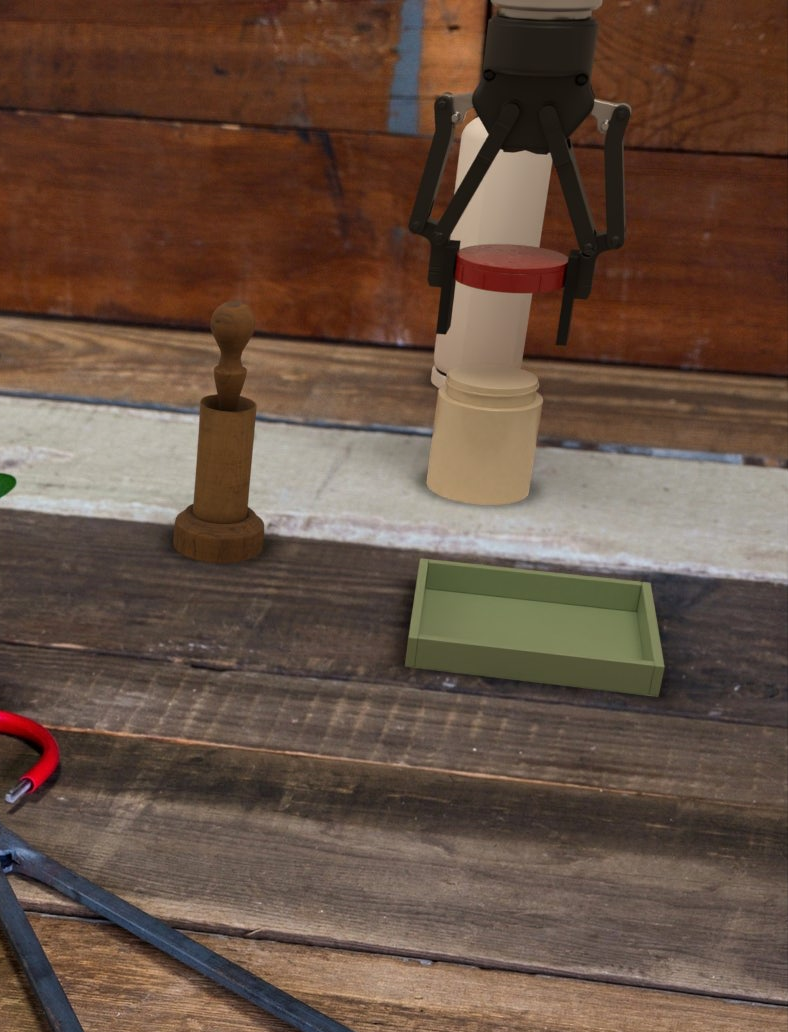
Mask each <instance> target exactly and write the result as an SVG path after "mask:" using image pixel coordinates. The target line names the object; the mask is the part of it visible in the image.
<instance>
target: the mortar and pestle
mask: <svg viewBox="0 0 788 1032" xmlns="http://www.w3.org/2000/svg"><path fill="white" fill-rule="evenodd" d="M255 330H256V317H255V314H254V312H253V310H252V309H251V307H250V306H249V305H247V304H246V303H244V302H241V301H226V302H224V303H222V304H220V305H218V307H216V308H215V310H214V312H213V313H212V316H211V319H210V331H211V333H212V336H213V339H214V341H215V342H216V344H217V346H218V348H219V351H220V358H219V362H218V364H217V365H215V366H214V368H213V378H214V383H215V384H214V385H215V389H216V393H217V394H209V395H205V396H203V397H202V398H200V401H199V416H198V417H199V418H198V433H197V435H198V436H197V451H196V463H195V464H196V465H195V476H194V488H193V489H194V492H193V502H192V504H190V505H188V506H187V507H186V508H184V509H183V510H182V511H180V512H179V513H178V514H177V515H176V516H175V519H174V528H173V529H174V530H173V541H172V546H173V548H174V549H175V550H176V551H177V553H179V554H181V555H183V556H184V557H187V558H190V559H191V560H192V559H193V560H195V561H200V562H206V563H214V564H215V563H216V564H231V563H241V562H245V561H248V560H251V559H253V558H255V557H257V556H258V555H260V554H261V553H262V552H263V550H264V539H265V523H264V520H263V519H262V518H261V517H260V516H258V515H257V514H256V512H255V511H254V510H253V509H252V508H251V507H249V497H250V487H251V486H250V485H251V473H252V463H253V453H254V452H253V451H254V441H255V431H256V419H257V408H258V405H257V403H256V402H255V401H254V400H252V399H251V398H248V397H246V396H242V395H241V394H242V391H243V388H244V385H245V382H246V379H247V375H248V374H247V373H248V369H247V368H246V367H245V366H243V364H242V355H243V352H244V350H245V348H246V347H247V345H248V343H249V342H250V340H251V339H252V337H253V335H254V333H255Z"/></svg>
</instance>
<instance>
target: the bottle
mask: <svg viewBox="0 0 788 1032" xmlns="http://www.w3.org/2000/svg"><path fill="white" fill-rule="evenodd" d="M488 135H489V134H488V133H487V131H486V129H485V127H484V126H483V124H482V122H481V120H480V118H479V117H478V116H477V117H475V118H474V119H472V120H471V121H470V122H468V123H467V124H466V125H465V126H464V129H463V131H462V133H461V136H460V137H461V138H460V145H459V152H458V161H457V169H456V176H455V185H454V193H453V196H454V195H455V193H456V191H457V189H458V188H459V186H460V184H461V182H462V181H463V179H464V177H465V175H466V174H467V172H468V170H469V168H470V167H471V165H472V163H473V161H474V160H475V158H476V156H477V154H478V152H479V150H480V149H481V147H482V145H483V143H484V142H485V140H486V138H487V136H488ZM552 167H553V161H552V157H551V154H550V153H548V154H547V155H542V154H534V153H532V152H529V151H520V152H515V153H510V152H503V150H501V149H500V151H499V152H498V154H497V156H496V158H495V159H494V161H493V163H492V164H491V166H490V168H489V170H488V171H487V173H486V175H485V176H484V178H483V180H482V182H481V183H480V185H479V187H478V189H477V190H476V192H475V194H474V195H473V197H472V199H471V201H470V202H469V204H468V206H467V208H466V209H465V211H464V213H463V214H462V216H461V218H460V220H459V221H458V223H457V225H456V227H455V228H454V230H453V232H452V234H451V237H450V240H459V241H461V242H460V249H462V248H465V247H469V246H475V245H485V244H512V245H525V246H533V247H539V248H540V245H541V238H542V231H543V226H544V219H545V213H546V206H547V200H548V192H549V186H550V185H549V184H550V179H551V174H552V173H551V172H552ZM532 299H533V293H503V292H494V291H487V290H481V289H477V288H473V287H469V286H466V285H463V284H461V283H459V282H457V281H456V285H455V293H454V302H453V310H452V319H451V326H450V328H449V330H448V332H447V334H446V335H444V334H436V336H435V343H434V353H433V362H434V365H433V366H432V368H431V374H430V375H431V376H430V382H431V384H432V385H434V386H435V387H436V388H438V389H439V388H440V387H441V386H443V385H445V384H446V378H447V377H446V375H447V372H448V371H449V370H450V369H452V368H454V367H456V366H460V365H465V364H498V365H506V366H511V367H516V368H520V369H522V364H523V357H524V350H525V345H526V337H527V332H528V326H529V325H528V324H529V319H530V311H531V306H532Z"/></svg>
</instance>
